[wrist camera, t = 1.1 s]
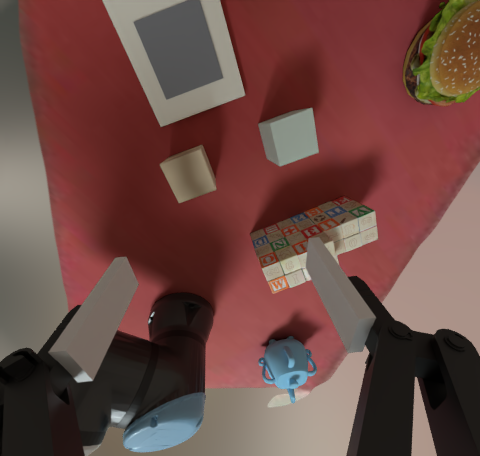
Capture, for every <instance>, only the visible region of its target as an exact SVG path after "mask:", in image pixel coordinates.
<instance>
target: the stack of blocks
mask: <svg viewBox="0 0 480 456" xmlns="http://www.w3.org/2000/svg"><path fill="white" fill-rule="evenodd" d="M250 236H251V239H252V241H253V245H254V248H255V252H256V255H257V258H258V260H259V262H260V264H261V267H262V270H263V272H264V274H265V277H266V279H267V281H268V284H269V286H270V288H271V290H272V293H273V294H274V293H277V292H279V291H282V290H285V289H287V288H289V287H290V288H292V287H294V286H297V285H299V284H302V283H304V282H306V281H309V280H311V277H310V275H309V273H308V271H307V269H306V258H307V248H308V239H309V238H316V237H319V238H320V239H321V241H322V242H323V243H324V245H325V246H326V248H327V249H328V250H329V252H330V253H331V255H332V256H333V257H334V259H335V260H336V262H337V263H338V265H339V262H338V258H337V255H339V254H341V253H344V252H347V251H350V250H353V249H355V248H358V247H360V246H362V245H364V244H367V243H369V242H372V241H374V240H377V239H378V234H377V226H376V216H375V211H374V210H372V209H370V208H369V207H367V206H365V205H362V204H360V203H358V202H356V201H354V200H352V199H350V198H348V197H346V196H343V197H340V198H338V199H336V200H333V201H330V202H327V203H325V204H322V205H320V206H318V207H315V208H312V209H310V210H307V211H305V212H303V213H301V214H298V215H296V216H293V217H291V218H289V219H286V220H284V221H281V222H279V223H276V224H273V225H271V226H268V227H266V228H263V229H260V230H258V231H255V232H253V233H251V234H250Z"/></svg>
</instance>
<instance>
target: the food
mask: <svg viewBox="0 0 480 456" xmlns="http://www.w3.org/2000/svg"><path fill="white" fill-rule="evenodd" d="M439 8H441V9H442V8H443V9H442V10H441V11H440V12H439V13H438V14H436V15H435V16H434V18H433V19H432V20H431V21H430V22H428V23H427V24H426V25H425V26H424V27H423V28H422V29H421V30H420V31H419V32H418V34H417V36H416V37H415V39H414V41H413V43H412V44H411V46H410V48H409V49H408V51H407V54H406V58H405V62H404V66H403V82H404V85H405V88H406V90H407V93H408V94H409V95H410V96H411V97H413V98H414V99H415V100H416V101H417V102H420V103H422V104H429V105H437V106H449V105H451V104H453V103H455V102H456V103H458V102H459V103H460V102H463V103H464V102H465V101H466V100H467V99H468V98H469V97H470V96H471V95H472V94H474V93H475V92H476V91H478V90H479V89H480V0H449V2H448V3H447V4H446V5H445V2H442V3H440V5H439Z"/></svg>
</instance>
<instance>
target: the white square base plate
mask: <svg viewBox="0 0 480 456" xmlns="http://www.w3.org/2000/svg"><path fill="white" fill-rule="evenodd" d="M102 1H103V3H104V5H105V7H106V9H107V11H108V14H109V16H110V18H111V20H112V22H113V24H114V27H115V29H116V31H117V33H118V35H119V37H120V40H121V42H122V44H123V46H124V48H125V50H126V53H127V55H128V57H129V59H130V61H131V64H132V66H133V68H134V70H135V72H136V74H137V77H138V79H139V81H140V83H141V85H142V87H143V90H144V92H145V94H146V96H147V98H148V100H149V103H150V105H151V107H152V109H153V111H154V114H155V116H156V118H157V120H158V122H159V124H160V127H163V126H166V125H169V124H171V123H174V122H177V121H179V120H182V119H185V118H187V117H190V116H192V115H195V114H198V113H200V112H203V111H206V110H208V109H211V108H214V107H216V106H219V105H222V104H224V103H227V102H230V101H232V100H235V99H237V98H240V97H243V96H245V92H244V88H243V84H242V80H241V77H240V73H239V69H238V66H237V62H236V58H235V54H234V51H233V47H232V43H231V40H230V36H229V32H228V28H227V25H226V21H225V17H224V14H223V10H222V6H221V2H220V0H102Z"/></svg>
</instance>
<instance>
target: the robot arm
mask: <svg viewBox="0 0 480 456" xmlns="http://www.w3.org/2000/svg"><path fill="white" fill-rule="evenodd" d="M306 269H307V271H308V273H309V275H310V277H311V279H312V281H313V284H314V286H315V288H316V290H317V292H318V294H319V296H320V298H321V300H322V302H323V304H324V306H325V308H326V310H327V312H328V314H329V316H330V318H331V320H332V322H333V324H334V326H335V328H336V330H337V332H338V334H339V336H340V338H341V340H342V342H343V344H344V346H345V348H346V350H347V352H348V353H353V352H362V351H363V349H364V346H365V345H366V347H367V349H368V350H369V352H370V353H369V355H368V358H367V360H366V362H365V363H366V369H365V374H364V378H363V383H362V387H361V392H360V396H359V401H358V405H357V410H356V414H355V419H354V424H353V428H352V433H351V437H350V442H349V446H348V451H347V456H411V449H412V427H413V404H414V381H415V377H417V378H418V382H419V386H420V390H421V394H422V398H423V402H424V406H425V410H426V414H427V418H428V422H429V425H430V430H431V433H432V437H433V441H434V445H435V449H436V453H437V456H480V356H479V354H478V352H477V351H476V348H475V347H474V346H473V344H472V343H471V342H470V341H469V340H468V339H466V338H465V337H464V336H462V335H461V334H459V333H457V332H455V331H452V330H449V329H440V330H437V332H436V333H435V334H434V335H432V334H427V333H421V332H416V331H413V330H411V329H410V328H409V327H408V326H406V325H405V324H403V323H401V322H399V321H395V320H394V318H393V317H392V316H391V315H390V314H389V312H388V311H387V310H386V309H385V307H384V306H383V305H382V303H381V302H380V301H379V300H378V298H377V297H376V296H375V294H374V293H373V292H372V291H371V290H370V288H369V287H368V286H367V284H366V283H365V282H364V281H363V280H361V279H360V278H358V277H357V276H351V277H347V276H346V274H345V273H344V272H343V270H342V269H341V267H340V266H339V265H338V263H337V262H336V260H335V259H334V257H333V256H332V255H331V253H330V252H329V250H328V249H327V248H326V246H325V245H324V243H323V242H322V241H321V239H320V238H319V237H316V238H309V239H308V248H307V258H306ZM138 285H139V284H138V281H137V279H136V277H135V275H134V273H133V270H132V268H131V266H130V264H129V262H128V259H127V257H117V258H115V259H114V260H113V262H112V263H111V265H110V266H109V267H108V269H107V270H106V272H105V273H104V274H103V276H102V277H101V279H100V280H99V282H98V283H97V284H96V286H95V287H94V289H93V290H92V291H91V293H90V294H89V296H88V297H87V298H86V300H85V301H84V303H83V304H82V305H77V306H76V307H75V308H73V309H72V310H71V311H70V312H69V313H68V314H67V315H66V317H65V318H64V319H63V320H62V323H60V325H59V326H58V327H57V328H56V331H54V333H53V334H52V335H51V337H50V338H49V339H48V341H47V342H46V343H45V345H44V346H43V347H42V349H41V350H40V351H39V353H38V354H36V353H35V352H34V351H33V350H32V349H30V348H23V349H19V350H17V351H15V352H13V353H11V354H10V355H8V356H7V357H5V358H4V359H3V360H2V361H1V362H0V456H88V455H89V454H90V453H92V452H93V451H94V450H96V449H97V448H98V447H99V446H100V445H101V443H102V440H103V438H104V436H105V433H106V431H107V429H108V428H109V427H117V428H123V429H125V431H124V434H123V445H124V447H125V448H126V449H127V448H128V449H129V450H130V451H134V452H151V451H158V450H163V449H166V448H169V447H172V446H175V445H177V444H180V443H182V442H183V441H186V440H187V439H189V438H190V437H191V436H193V435H194V434H195V433H196V432H197V431H198V429H199V428H200V426H201V424H202V421H203V415H204V403H205V398H206V395H205V348H206V342H207V340H208V337H209V334H210V331H211V329H212V326H213V310H212V307H211V305H210V304H209V303H208V302H207V301H206V300H205V299H203V298H202V297H200V296H197V295H194V294H190V293H175V294H170V295H167V296H165V297H163V298H161V299H160V300H158V301H157V302H156V303H155V304H154V306H153V307H152V309H151V312H150V316H149V319H148V327H149V339H150V341H148V340H145V339H142V338H139V337H136V336H133V335H130V334H127V333H124V332H121V331H118V330H117V329H118V327H119V325H120V323H121V321H122V319H123V316H124V314H125V312H126V310H127V308H128V306H129V304H130V302H131V300H132V298H133V295H134V293H135V291H136V289H137V287H138Z"/></svg>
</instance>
